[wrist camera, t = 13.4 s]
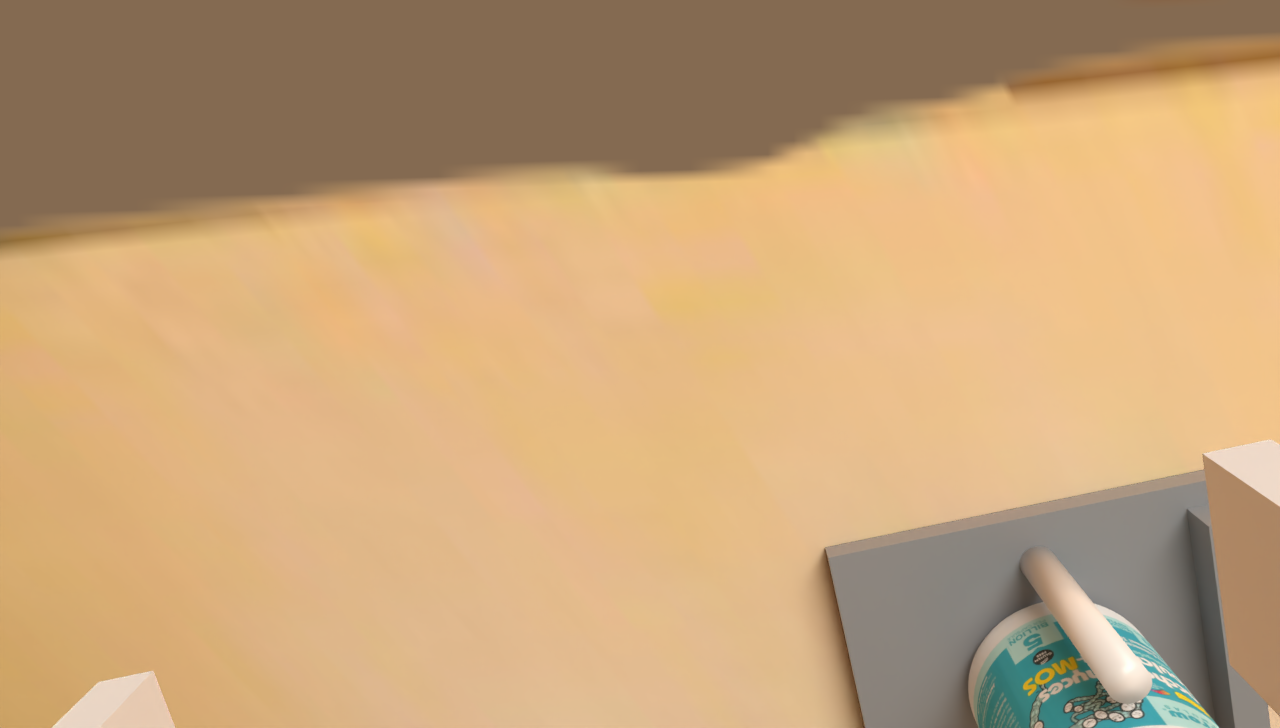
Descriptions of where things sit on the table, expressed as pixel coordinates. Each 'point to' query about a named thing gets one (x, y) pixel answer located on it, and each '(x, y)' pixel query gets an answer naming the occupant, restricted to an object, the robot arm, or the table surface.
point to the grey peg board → (1041, 600)
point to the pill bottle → (1068, 680)
